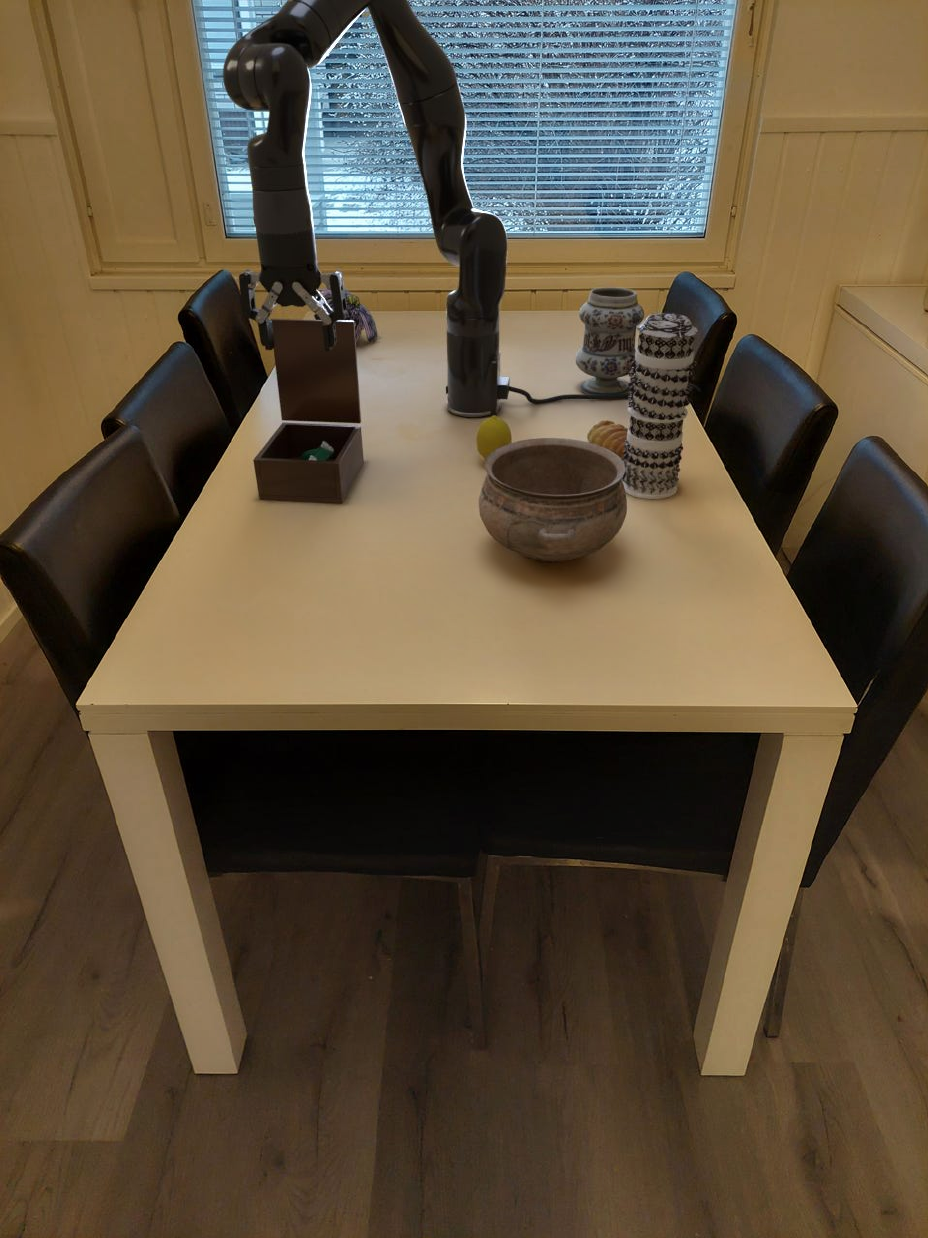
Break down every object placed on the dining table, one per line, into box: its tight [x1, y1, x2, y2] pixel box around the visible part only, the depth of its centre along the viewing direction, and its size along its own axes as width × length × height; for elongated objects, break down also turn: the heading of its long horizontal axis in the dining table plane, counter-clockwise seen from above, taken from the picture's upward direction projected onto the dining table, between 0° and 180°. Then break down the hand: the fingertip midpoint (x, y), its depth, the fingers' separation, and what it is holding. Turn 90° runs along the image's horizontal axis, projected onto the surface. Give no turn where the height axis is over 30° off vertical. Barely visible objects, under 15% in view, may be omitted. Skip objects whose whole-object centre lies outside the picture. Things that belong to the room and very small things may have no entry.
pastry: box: [587, 419, 629, 460], centre depth 143 cm, size 9×7×4 cm
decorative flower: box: [313, 287, 378, 344], centre depth 194 cm, size 15×12×15 cm
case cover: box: [270, 318, 362, 424], centre depth 135 cm, size 15×13×5 cm
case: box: [252, 421, 365, 504], centre depth 134 cm, size 15×13×6 cm
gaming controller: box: [301, 441, 335, 461], centre depth 134 cm, size 9×4×6 cm
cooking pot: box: [478, 437, 628, 564], centre depth 113 cm, size 25×19×12 cm
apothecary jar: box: [574, 286, 645, 394], centre depth 163 cm, size 12×12×18 cm
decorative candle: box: [621, 312, 699, 500], centre depth 126 cm, size 9×9×25 cm
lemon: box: [475, 415, 513, 461], centre depth 138 cm, size 6×6×8 cm
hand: (299, 349), depth 124 cm, fingers open, 8 cm apart
